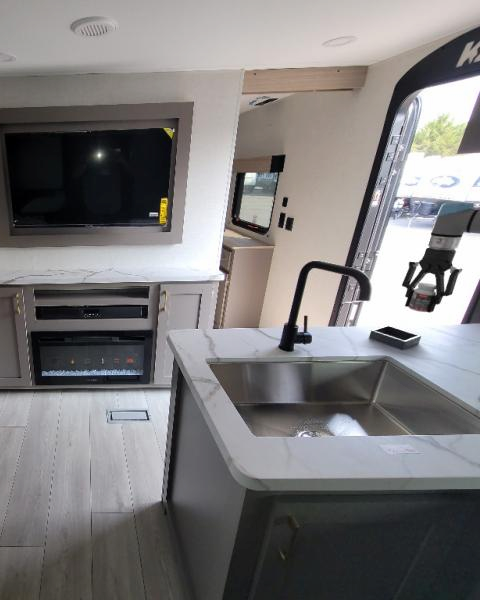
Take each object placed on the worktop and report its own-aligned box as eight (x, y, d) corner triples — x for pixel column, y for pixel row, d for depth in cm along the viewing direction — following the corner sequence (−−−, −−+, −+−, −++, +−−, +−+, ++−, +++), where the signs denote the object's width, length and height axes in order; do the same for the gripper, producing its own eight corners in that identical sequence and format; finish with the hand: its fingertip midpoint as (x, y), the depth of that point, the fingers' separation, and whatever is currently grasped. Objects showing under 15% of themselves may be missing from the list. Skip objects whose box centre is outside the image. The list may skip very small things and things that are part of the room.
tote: (418, 343, 131) (421, 335, 130) (402, 349, 127) (405, 341, 126) (384, 332, 141) (387, 325, 140) (368, 337, 137) (371, 330, 136)
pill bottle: (413, 311, 121) (422, 286, 117) (404, 306, 126) (413, 281, 122) (433, 313, 119) (442, 287, 116) (423, 307, 124) (432, 282, 121)
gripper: (401, 244, 121) (383, 302, 129) (474, 254, 105) (447, 319, 113) (413, 242, 124) (393, 299, 132) (485, 251, 107) (458, 315, 116)
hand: (418, 308), depth 122 cm, fingers closed on pill bottle, 6 cm apart
